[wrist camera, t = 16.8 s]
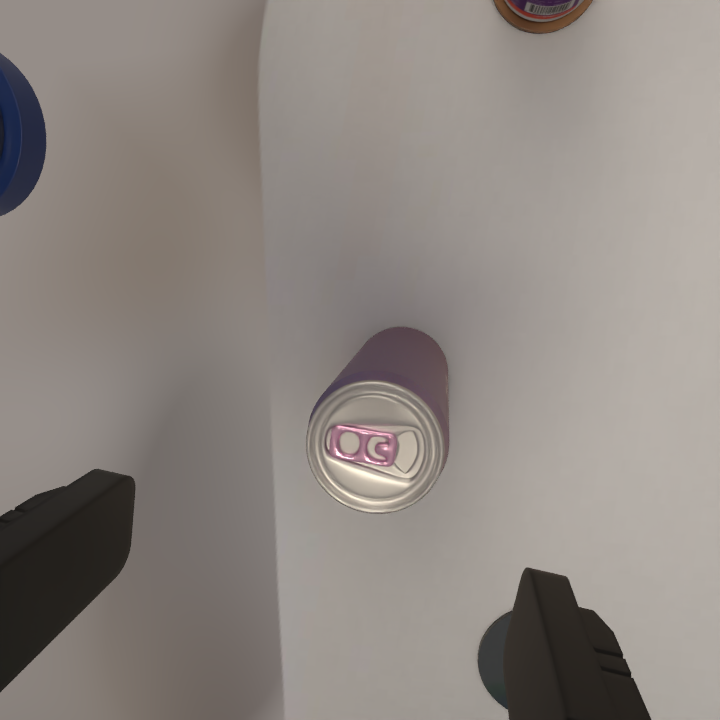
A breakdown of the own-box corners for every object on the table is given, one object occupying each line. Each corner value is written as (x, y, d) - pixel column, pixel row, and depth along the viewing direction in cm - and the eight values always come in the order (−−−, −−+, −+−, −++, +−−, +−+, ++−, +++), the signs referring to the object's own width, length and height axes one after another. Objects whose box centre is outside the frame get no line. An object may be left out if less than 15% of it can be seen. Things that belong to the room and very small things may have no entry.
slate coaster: (465, 699, 41) (466, 702, 41) (493, 591, 39) (493, 594, 39) (591, 732, 40) (592, 735, 40) (626, 623, 38) (627, 626, 38)
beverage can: (362, 319, 37) (308, 366, 22) (454, 332, 36) (460, 389, 21) (352, 406, 38) (294, 504, 23) (440, 420, 37) (437, 531, 23)
